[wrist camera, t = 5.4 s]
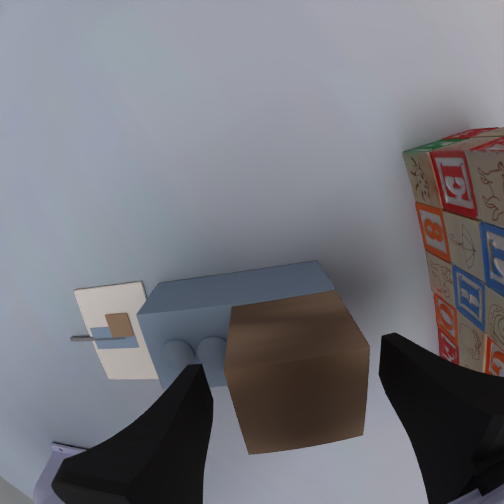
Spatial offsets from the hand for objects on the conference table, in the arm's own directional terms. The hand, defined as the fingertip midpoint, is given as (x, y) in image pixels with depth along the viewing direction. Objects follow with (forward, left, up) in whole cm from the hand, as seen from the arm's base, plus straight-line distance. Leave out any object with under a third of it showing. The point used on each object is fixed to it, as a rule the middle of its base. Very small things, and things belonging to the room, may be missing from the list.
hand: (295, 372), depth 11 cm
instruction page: (-10, -1, -6) cm, 12 cm away
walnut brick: (0, 0, -2) cm, 2 cm away
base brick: (-2, 0, -6) cm, 7 cm away
